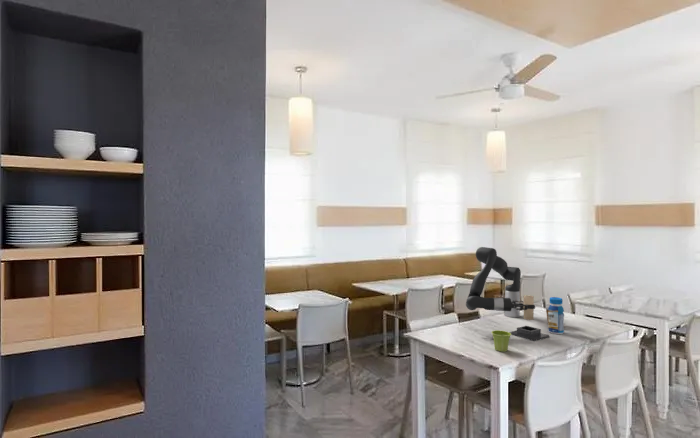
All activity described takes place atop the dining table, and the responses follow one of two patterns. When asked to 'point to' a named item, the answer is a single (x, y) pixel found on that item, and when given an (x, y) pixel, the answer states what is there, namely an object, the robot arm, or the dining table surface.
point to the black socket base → (529, 333)
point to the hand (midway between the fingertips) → (533, 305)
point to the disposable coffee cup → (547, 310)
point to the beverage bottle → (556, 316)
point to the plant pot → (501, 340)
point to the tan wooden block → (529, 312)
